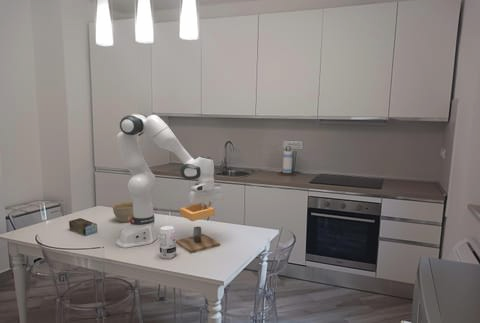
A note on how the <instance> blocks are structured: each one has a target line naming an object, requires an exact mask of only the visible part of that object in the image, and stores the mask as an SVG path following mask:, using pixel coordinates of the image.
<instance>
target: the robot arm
mask: <svg viewBox="0 0 480 323" xmlns="http://www.w3.org/2000/svg"><path fill="white" fill-rule="evenodd" d="M119 128H120V130H121V131H120V132H119V133H118V134H116V138H115V139H116V142H117V148H118V151H119V154H120V156H121V159H122V162H123V165H124V167H125V168H126V169H127V170H128V171H129V173H130V174H131V177H130V178H129V181H128V183H127V190H128V191H129V194H130V197H131V200H132V201H131V202H133V217H132V218H131V217H128V218H127V219H128V220H129V221H130V223H129V224H128V225H126V226H125V228H123V229H122V230H121V232H120V235H119V238H118V239H116V241H115V244H116V245H117V246H118V247H120V248H124V249H126V248H133V247H139V246H141V247H142V246H146V245H152V244H153V243H154V242H155V241H156V240H157V239H158V235H157V233H156V228H155V214H154V200H153V199H152V196H151V189H152V187H153V186H154V185H155V183H156V176H155V174H154V172H152V170H151V168H150V167H149V165H148V163H147V162H146V160H145V158H144V155H143V152H142V150H141V147H140V143H139V141H138V137H139V136H142V135H143V134H144V133H146V134H148V136H149V137H150V138H151V140H152V141H153V142H154V143H155V144H156V145H157V146H158V147H159V148H161V149H163V150H166V151H170V152H172V153H173V154H174V155H175V156H176V157H177V158H178V159H179V161H180V162H181V163H182V166H181V167H180V175H181V177H182V178H183V179H184V180H189V181H190V180H195V179H197V182H195V183H193V184H191V185H190V186H189V189H190V191H189V193H188V202H189V204H190V205H195V204H200V205H201V207H202V210H205V208H206V207H204V206H203V204H205V203H209V204H207V206H210V207H212V206H213V203H214V202H215V201H221V200H223V197H224V196H223V185H222V184H220V183H215V178H214V174H215V164H214V163H215V162H214V159H213V158H212V157H210V156H206V155H200V156H198V157H197V158H195V157H193V156H192V155H191V154H190V152H188V150H187V149H186V148H185V147H184V146H183V145H182V143H181V142H180V140H178V137H176V135H175V134H174V133H173V132H174V131H172V130H171V128H170V127H169V126H168V124H167V123H166V122H165V121H164V120H163V119H162V118H160V116H159V115H157V114H151V115H148V116H147V115H144V114H142V113H133V114H130V115H126V116H123V117H122V118H121V120H120V122H119Z"/></svg>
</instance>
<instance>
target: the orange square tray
mask: <svg viewBox="0 0 480 323" xmlns="http://www.w3.org/2000/svg"><path fill="white" fill-rule="evenodd" d="M203 206H204V207H206V208H205V210H202V207H201V205H200V203H199V204H190V205H187V206H182V207H179V215H180V216H181V217H183V218H185V219H187V220H189V221H190V222H195V221H199V220H203V219H206V218H210V217H215V216H216V212H215V211H216V210H215V207H212V206H211V207H210V206H208V204H205V203H204V204H203Z"/></svg>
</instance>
